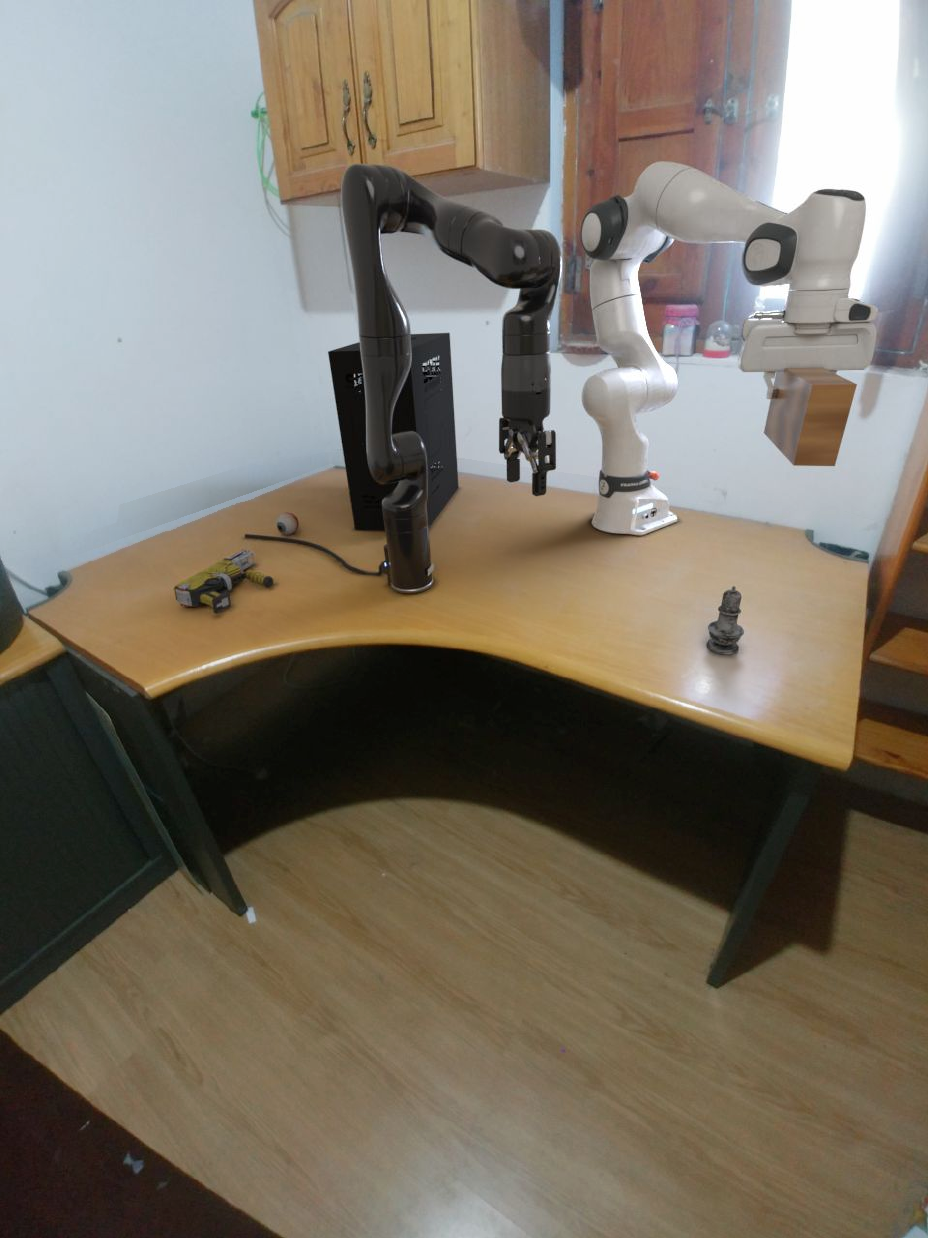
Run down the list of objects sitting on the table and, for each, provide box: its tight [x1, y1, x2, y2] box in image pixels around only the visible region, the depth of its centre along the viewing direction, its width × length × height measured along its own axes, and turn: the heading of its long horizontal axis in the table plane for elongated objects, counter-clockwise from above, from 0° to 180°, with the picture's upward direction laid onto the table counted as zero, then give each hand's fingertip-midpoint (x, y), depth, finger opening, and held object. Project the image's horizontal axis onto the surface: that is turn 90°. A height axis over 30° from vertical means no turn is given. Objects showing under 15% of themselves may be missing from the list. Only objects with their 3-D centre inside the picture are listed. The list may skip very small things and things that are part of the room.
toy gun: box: [173, 548, 274, 614], centre depth 136 cm, size 5×24×15 cm
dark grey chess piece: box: [706, 585, 745, 655], centre depth 104 cm, size 6×6×12 cm
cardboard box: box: [327, 332, 460, 532], centre depth 168 cm, size 38×20×45 cm, turn 167°
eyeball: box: [275, 511, 300, 536], centre depth 163 cm, size 6×6×6 cm
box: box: [763, 368, 858, 467], centre depth 99 cm, size 21×6×12 cm, turn 168°
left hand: (525, 487), depth 100 cm, fingers open, 8 cm apart
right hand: (794, 398), depth 105 cm, fingers closed on box, 6 cm apart
